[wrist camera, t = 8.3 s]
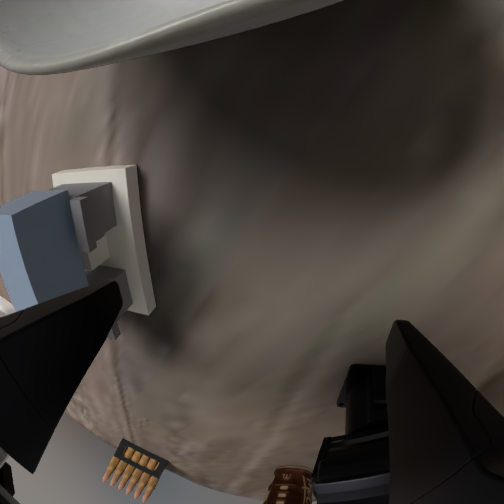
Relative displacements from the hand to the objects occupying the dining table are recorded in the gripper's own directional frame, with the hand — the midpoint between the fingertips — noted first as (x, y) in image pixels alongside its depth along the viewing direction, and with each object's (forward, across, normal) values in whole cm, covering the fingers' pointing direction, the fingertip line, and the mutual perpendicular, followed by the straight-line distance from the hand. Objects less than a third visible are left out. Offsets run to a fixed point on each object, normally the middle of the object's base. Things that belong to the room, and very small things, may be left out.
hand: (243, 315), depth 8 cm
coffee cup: (+12, -5, +43) cm, 45 cm away
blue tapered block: (+6, +16, +4) cm, 18 cm away
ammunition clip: (+12, +25, +53) cm, 60 cm away
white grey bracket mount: (+12, +16, +4) cm, 20 cm away
